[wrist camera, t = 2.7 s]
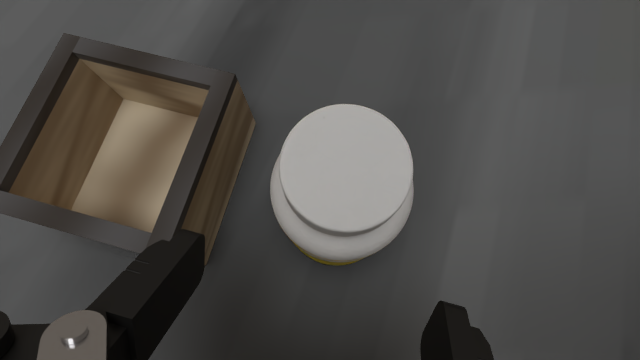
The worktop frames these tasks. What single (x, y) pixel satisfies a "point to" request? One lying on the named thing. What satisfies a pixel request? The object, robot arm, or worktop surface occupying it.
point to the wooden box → (125, 146)
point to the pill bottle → (343, 184)
